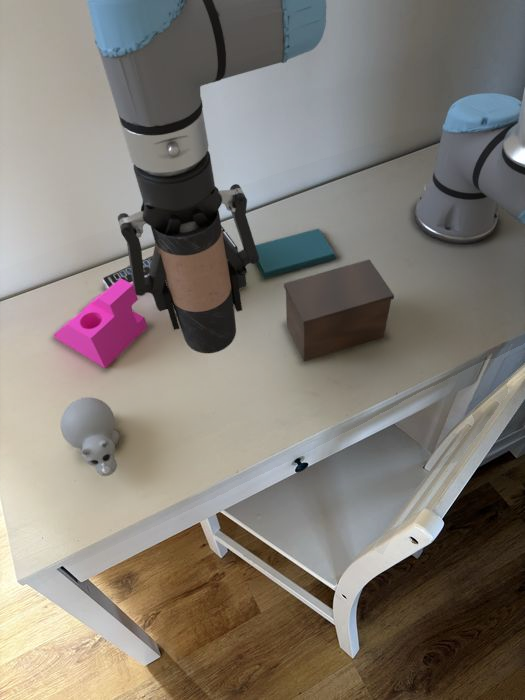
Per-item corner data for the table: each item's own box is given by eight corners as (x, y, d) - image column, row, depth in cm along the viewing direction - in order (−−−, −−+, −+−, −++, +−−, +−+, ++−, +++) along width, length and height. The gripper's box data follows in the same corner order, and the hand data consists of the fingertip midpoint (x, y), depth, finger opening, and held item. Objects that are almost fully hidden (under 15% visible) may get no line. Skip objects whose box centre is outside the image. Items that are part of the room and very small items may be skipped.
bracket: (147, 327, 92) (133, 284, 83) (105, 368, 87) (85, 327, 78) (98, 300, 96) (79, 257, 88) (55, 338, 91) (31, 296, 83)
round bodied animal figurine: (89, 499, 73) (67, 472, 66) (68, 430, 80) (47, 400, 73) (139, 476, 75) (123, 448, 68) (114, 411, 81) (98, 379, 75)
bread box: (361, 299, 93) (367, 256, 85) (385, 337, 87) (394, 295, 79) (283, 322, 90) (282, 280, 83) (303, 362, 85) (303, 321, 77)
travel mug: (230, 358, 70) (209, 241, 54) (175, 351, 71) (138, 235, 55) (243, 315, 74) (227, 195, 59) (191, 309, 76) (161, 190, 60)
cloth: (318, 232, 104) (319, 227, 103) (335, 259, 99) (335, 253, 98) (250, 251, 102) (250, 245, 101) (263, 278, 97) (263, 273, 96)
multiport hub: (168, 275, 99) (166, 266, 97) (114, 301, 96) (110, 292, 94) (158, 262, 101) (156, 253, 99) (104, 286, 98) (101, 277, 96)
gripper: (68, 205, 48) (133, 357, 66) (284, 151, 51) (290, 311, 69) (60, 160, 52) (123, 314, 70) (259, 113, 55) (270, 272, 73)
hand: (205, 312), depth 70 cm, fingers closed on travel mug, 8 cm apart
